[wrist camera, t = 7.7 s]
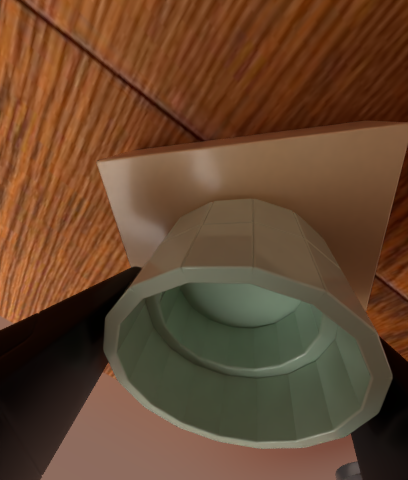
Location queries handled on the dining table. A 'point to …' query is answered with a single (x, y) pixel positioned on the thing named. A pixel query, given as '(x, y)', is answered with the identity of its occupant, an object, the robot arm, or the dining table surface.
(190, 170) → the plate
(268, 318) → the bowl
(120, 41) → the dining table surface
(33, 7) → the dining table surface
